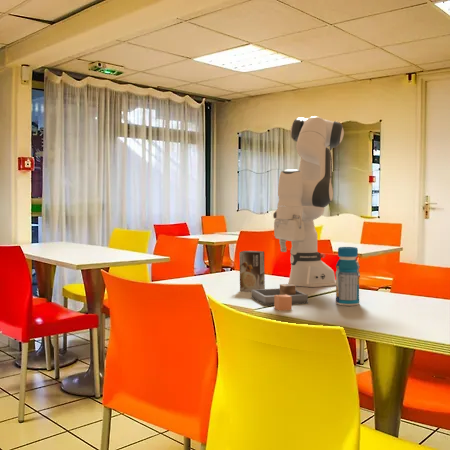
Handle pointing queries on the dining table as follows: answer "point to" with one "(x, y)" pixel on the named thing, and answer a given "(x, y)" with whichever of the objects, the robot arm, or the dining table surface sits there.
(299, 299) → the tray
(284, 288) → the walnut block
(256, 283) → the coffee box
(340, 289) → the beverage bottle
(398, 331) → the dining table surface
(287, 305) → the terracotta block
